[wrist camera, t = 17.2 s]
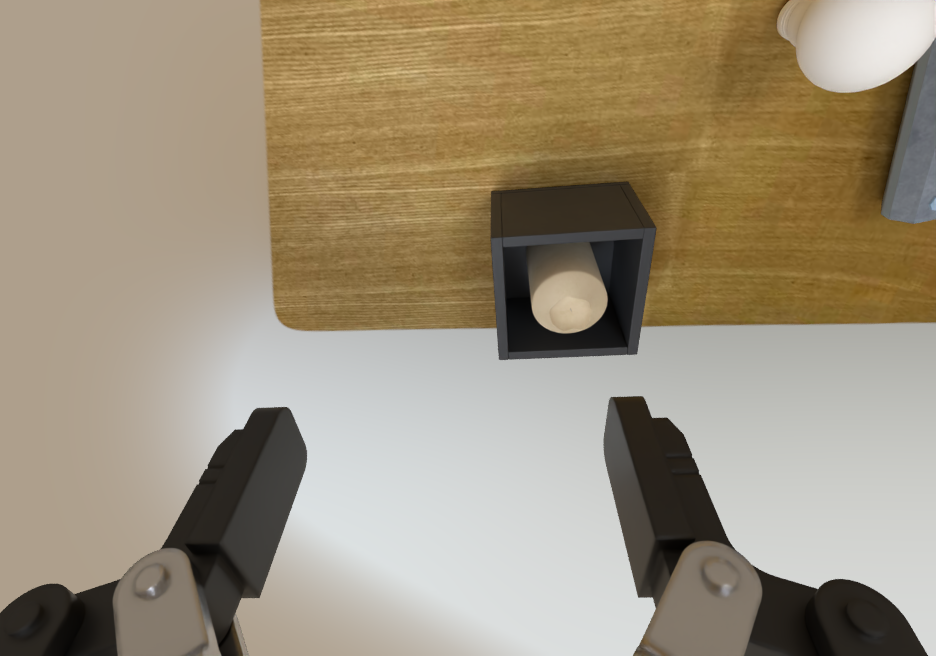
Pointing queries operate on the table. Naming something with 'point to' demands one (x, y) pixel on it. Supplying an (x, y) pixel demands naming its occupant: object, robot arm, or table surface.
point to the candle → (565, 286)
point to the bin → (559, 222)
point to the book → (915, 150)
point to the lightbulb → (857, 39)
